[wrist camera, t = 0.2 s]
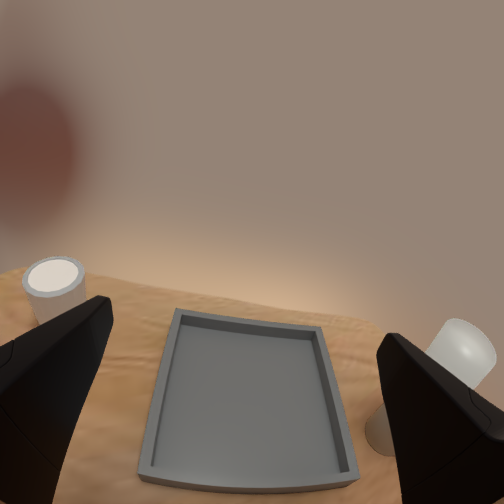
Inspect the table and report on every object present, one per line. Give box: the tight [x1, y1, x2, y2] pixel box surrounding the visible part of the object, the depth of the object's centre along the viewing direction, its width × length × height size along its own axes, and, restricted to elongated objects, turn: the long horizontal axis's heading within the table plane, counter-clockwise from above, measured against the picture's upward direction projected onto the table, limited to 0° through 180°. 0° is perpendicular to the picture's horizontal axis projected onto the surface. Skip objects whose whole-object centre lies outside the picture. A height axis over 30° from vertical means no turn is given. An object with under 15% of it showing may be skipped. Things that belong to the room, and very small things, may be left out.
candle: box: [365, 318, 497, 456], centre depth 18 cm, size 6×6×13 cm
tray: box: [137, 308, 360, 494], centre depth 23 cm, size 18×16×2 cm
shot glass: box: [22, 256, 86, 325], centre depth 24 cm, size 7×7×7 cm
